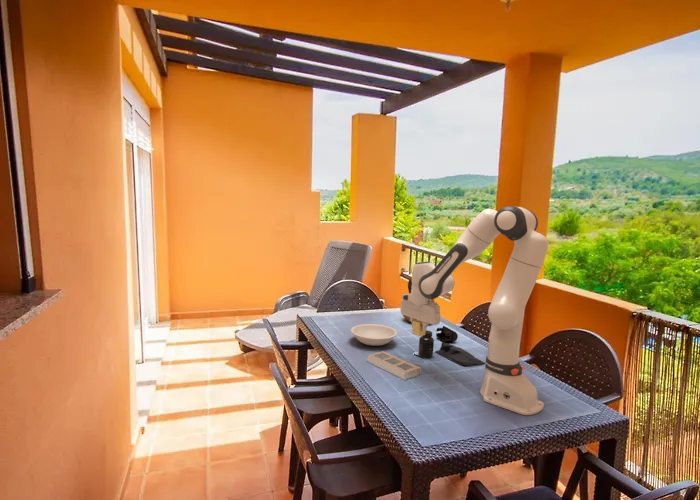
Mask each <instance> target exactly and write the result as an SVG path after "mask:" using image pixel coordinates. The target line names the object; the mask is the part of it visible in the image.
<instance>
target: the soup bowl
mask: <svg viewBox="0 0 700 500" xmlns="http://www.w3.org/2000/svg"><path fill="white" fill-rule="evenodd" d="M350 332H351V334H352V335H353V336H354V337H355V339H356V340H357V341H359V343H362V344H364V345H367V346H372V347H373V346H374V347H375V346H376V347H377V346H378V347H379V346H384V345H386V344H389V343H390V342H392V340H393V339H394V338H395V337H397V335H398V331H397V329H395V328H393V327H391V326H388V325H385V324H378V323H362V324H357V325H354V326H352V327H351V328H350Z"/></svg>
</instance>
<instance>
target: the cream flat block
mask: <svg viewBox="0 0 700 500" xmlns="http://www.w3.org/2000/svg"><path fill="white" fill-rule="evenodd" d="M367 362H368V363H369V364H372V365H373V366H375V367H377V368H379V369H381V370H383V371H385V372H387V373H389V374H392V375H393V376H396V377H398V378H400V379H402V380H404V381H405V380H409V379H411V378H415V377H418V376H420V375H421V371H422V370H421V369H422V368H421V367H420V366H418V365H415V364H413V363H410V362H409V361H406V360H404V359H402V358H400V357H398V356H395V355H393V354H390V353H388V352H386V351H384V350H382V351H379V352H375V353H371V354H367Z"/></svg>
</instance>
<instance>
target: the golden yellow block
mask: <svg viewBox="0 0 700 500" xmlns="http://www.w3.org/2000/svg"><path fill="white" fill-rule="evenodd" d="M423 326H424V324H423V321H420V320H413V328H412V327H411V328H412V332H411V334H412V335H415V336H416V337H417V336H418V337H421V336H422V335H425V332H424V331H421V327H423Z"/></svg>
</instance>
